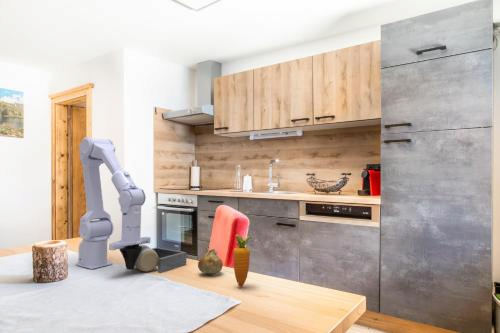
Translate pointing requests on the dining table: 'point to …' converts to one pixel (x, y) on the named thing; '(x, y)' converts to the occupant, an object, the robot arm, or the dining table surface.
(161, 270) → the grey u-shaped piece
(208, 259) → the onion
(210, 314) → the dining table surface
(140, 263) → the ceramic mug
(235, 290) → the dining table surface
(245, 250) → the carrot
